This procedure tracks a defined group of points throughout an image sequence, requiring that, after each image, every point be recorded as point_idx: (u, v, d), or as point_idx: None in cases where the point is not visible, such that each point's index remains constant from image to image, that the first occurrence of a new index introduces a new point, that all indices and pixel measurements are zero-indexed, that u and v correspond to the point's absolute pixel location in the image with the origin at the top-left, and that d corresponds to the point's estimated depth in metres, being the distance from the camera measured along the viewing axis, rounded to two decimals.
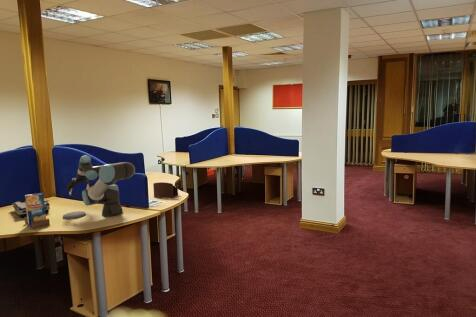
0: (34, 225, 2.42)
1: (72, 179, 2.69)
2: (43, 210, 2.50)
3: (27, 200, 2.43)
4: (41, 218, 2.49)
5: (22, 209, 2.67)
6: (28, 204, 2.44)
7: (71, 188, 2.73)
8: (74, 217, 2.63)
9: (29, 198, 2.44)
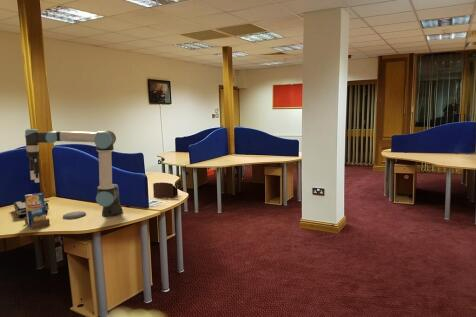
0: (34, 225, 2.42)
1: (35, 160, 2.42)
2: (43, 210, 2.50)
3: (27, 200, 2.43)
4: (41, 218, 2.49)
5: (21, 209, 2.67)
6: (28, 204, 2.44)
7: None
8: (74, 217, 2.63)
9: (29, 198, 2.44)
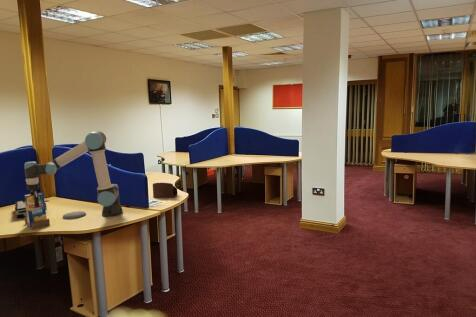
0: (34, 225, 2.42)
1: (36, 195, 2.44)
2: (43, 210, 2.50)
3: (28, 200, 2.43)
4: (41, 218, 2.50)
5: (18, 209, 2.67)
6: (29, 204, 2.44)
7: None
8: (74, 217, 2.63)
9: (29, 198, 2.44)
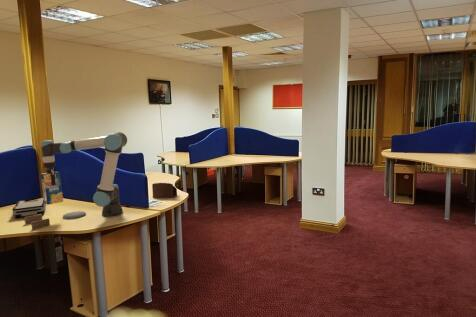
0: (34, 225, 2.42)
1: (53, 173, 2.50)
2: (60, 188, 2.57)
3: (45, 178, 2.49)
4: (58, 195, 2.56)
5: (16, 210, 2.66)
6: (46, 182, 2.50)
7: None
8: (74, 217, 2.63)
9: (46, 176, 2.50)
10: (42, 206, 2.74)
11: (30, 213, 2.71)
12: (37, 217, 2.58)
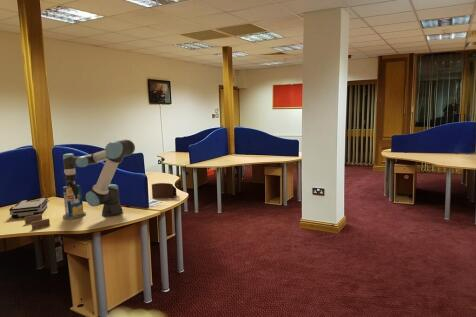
0: (34, 225, 2.42)
1: (74, 182, 2.61)
2: (80, 200, 2.69)
3: (67, 191, 2.61)
4: (79, 208, 2.68)
5: (12, 210, 2.66)
6: (68, 195, 2.62)
7: None
8: (74, 217, 2.63)
9: (69, 189, 2.62)
10: (39, 207, 2.72)
11: (27, 213, 2.70)
12: (37, 217, 2.58)
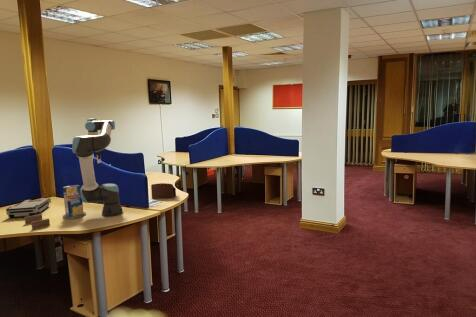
0: (34, 225, 2.42)
1: None
2: (80, 200, 2.69)
3: (67, 191, 2.61)
4: (79, 208, 2.68)
5: (9, 210, 2.67)
6: (68, 195, 2.62)
7: None
8: (74, 217, 2.63)
9: (69, 189, 2.62)
10: (34, 208, 2.70)
11: (22, 214, 2.69)
12: (37, 217, 2.58)
